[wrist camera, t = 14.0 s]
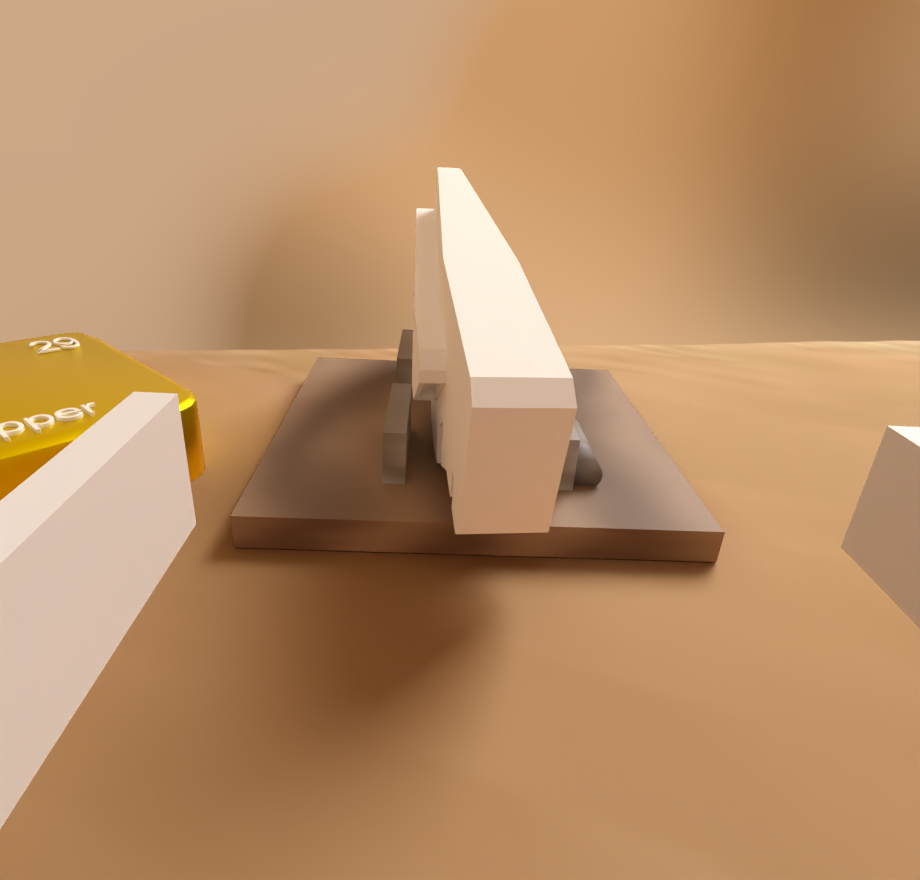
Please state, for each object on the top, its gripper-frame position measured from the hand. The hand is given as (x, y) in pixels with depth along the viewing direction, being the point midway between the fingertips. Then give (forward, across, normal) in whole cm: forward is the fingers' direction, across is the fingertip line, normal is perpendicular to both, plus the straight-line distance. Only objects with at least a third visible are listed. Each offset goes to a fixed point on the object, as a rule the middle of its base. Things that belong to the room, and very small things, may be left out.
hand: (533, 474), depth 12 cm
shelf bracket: (+21, 0, -8) cm, 22 cm away
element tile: (+17, -23, -10) cm, 30 cm away
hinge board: (+21, 0, -10) cm, 23 cm away
